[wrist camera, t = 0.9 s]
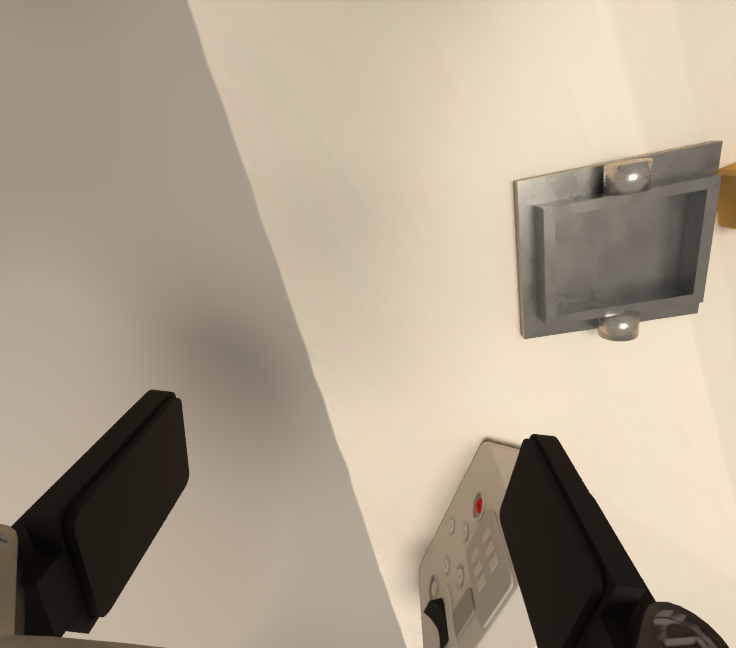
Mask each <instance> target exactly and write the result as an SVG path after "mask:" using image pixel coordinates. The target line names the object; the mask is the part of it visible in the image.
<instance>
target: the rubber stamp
mask: <svg viewBox="0 0 736 648" xmlns="http://www.w3.org/2000/svg"><path fill="white" fill-rule="evenodd" d="M718 175H722V177H721V183H720V190H719V197H718V203H717V212H718V223H719V225H721V226H724V227H728V228H733V229H736V163H735V164H733V165H730V166H728V167H725V168H723V169H720V170H719V171H718Z"/></svg>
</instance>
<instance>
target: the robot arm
mask: <svg viewBox="0 0 736 648" xmlns="http://www.w3.org/2000/svg"><path fill="white" fill-rule="evenodd" d="M188 478H189V466H188V457H187V447H186V438H185V429H184V420H183V411H182V403H181V400H180V399H179V398H176V395H175V394H174V393H173V392H168V391H159V390H149V391H148V392H147V393H146V394H145V395H144V396H143V397H142V398H141V399H140V400H138V402H136V403H135V404H134V405H133V406H132V407H131V408H130V409H129V410H128V411H127V412H126V413H125V414H124V415H123V416H122V417H121V418H120V419H119V420H118V421H117V422H116V423H115V424H114V425H113V426H112V427H111V428H110V429H109V430H108V431H107V432H106V433H105V434H104V435H103V436H102V437H101V438H100V439H99V440H98V441H97V442H96V443H95V444H94V445H93V446H92V447H91V448H90V449H89V450H88V451H87V452H86V453H85V454H84V455H83V456H82V457H81V458H80V459H79V460H78V461H77V462H76V463H75V464H74V465H73V466H72V467H71V468H70V469H69V470H68V471H67V472H66V473H65V474H64V475H63V476H62V477H61V478H60V479H59V480H58V481H57V482H56V483H55V484H54V485H53V486H52V487H51V488H50V489H48V490H47V492H45V494H43V496H41V497H40V499H38V500H37V501H36V502H35V503H34V504H33V505H32V506H31V507H30V508H29V509H28V510H27V511H26V512H25V513H24V514H23V515H22V516H21V517H20V518H19V519H18V520H17V521H16V522H15V523H14V524H13V525H12V526H11V527H10V526H8V525H3V524H0V648H163V647H154V646H146V645H136V644H128V643H117V642H106V641H95V640H84V639H72V638H62V636H63V634H64V633H65V631H69V632H78V633H87V634H89V632H90V631H91V629H92V627H93V626H94V624H95V623H96V621H97V619H98V618H99V617H104V616H105V615H107V613H108V612H109V611H110V609H111V608H112V607H113V605H114V603H115V602H116V600H117V598H118V597H119V595H120V593H121V592H122V590H123V589H124V587H125V585H126V584H127V582H128V580H129V579H130V577H131V575H132V574H133V572H134V570H135V569H136V567H137V566H138V564H139V562H140V560H141V559H142V557H143V556H144V554H145V552H146V551H147V549H148V547H149V546H150V544H151V543H152V541H153V539H154V538H155V536H156V534H157V533H158V531H159V529H160V528H161V526H162V524H163V523H164V521H165V520H166V518H167V516H168V515H169V513H170V511H171V510H172V508H173V506H174V505H175V503H176V501H177V500H178V498H179V497H180V495H181V493H182V492H183V490H184V488H185V487H186V484H187V482H188ZM499 518H500V524H501V527H502V531H503V534H504V537H505V541H506V544H507V547H508V551H509V554H510V557H511V561H512V564H513V567H514V571H515V574H516V577H517V581H518V584H519V587H520V590H521V594H522V597H523V600H524V604H525V607H526V610H527V614H528V617H529V620H530V624H531V627H532V630H533V634H534V637H535V640H536V644H537V647H538V648H729V647H728V645H727V644H726V643H725V641H724V640H723V639H722V638H721V636H720V635H719V634H718V633H717V632H716V631H715V630H714V629H713V628H712V627H710V626H709V625H708V624H707V623H706V622H705V621H703V620H702V619H701V618H699V617H698V616H697V615H695V614H694V613H692V612H690V611H688V610H687V609H685V608H683V607H681V606H678V605H675V604H672V603H669V602H656V601H655V599H654V598H653V596H652V594H651V593H650V591H649V589H648V588H647V586H646V584H645V583H644V581H643V579H642V578H641V576H640V574H639V573H638V571H637V569H636V568H635V566H634V564H633V563H632V561H631V559H630V557H629V556H628V554H627V552H626V551H625V549H624V547H623V546H622V544H621V542H620V541H619V539H618V537H617V536H616V534H615V532H614V531H613V529H612V527H611V526H610V524H609V522H608V520H607V519H606V517H605V515H604V514H603V512H602V510H601V509H600V507H599V505H598V504H597V502H596V500H595V499H594V498H593V496H592V495H591V494H590V493H589V491H588V489H587V488H586V486H585V484H584V483H583V481H582V479H581V477H580V476H579V474H578V472H577V471H576V469H575V467H574V466H573V464H572V462H571V461H570V459H569V457H568V455H567V454H566V452H565V450H564V449H563V447H562V445H561V444H560V442H559V440H558V439H557V438H556V437H554V436H547V435H539V434H532V435H531V436H530V438H529V439H524V440H523V442H522V445H521V448H520V451H519V454H518V457H517V460H516V463H515V466H514V469H513V472H512V475H511V478H510V481H509V484H508V487H507V490H506V493H505V496H504V499H503V502H502V504H501V507H500V513H499Z"/></svg>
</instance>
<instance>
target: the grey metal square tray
mask: <svg viewBox="0 0 736 648" xmlns="http://www.w3.org/2000/svg"><path fill="white" fill-rule="evenodd" d="M721 148H722V141H711V142H706V143H701V144H696V145H691V146H686V147H681V148H676V149H671V150H666V151H661V152H656V153H651V154H646V155H641V156H636V157H631V158H626V159H621V160H616V161H611V162H606V163H601V164H596V165H591V166H586V167H581V168H576V169H571V170H566V171H561V172H556V173H551V174H546V175H541V176H536V177H531V178H526V179H521V180H516V181H514V197H515V218H516V238H517V259H518V279H519V300H520V321H521V335H522V336H523V338H524V339H528V338H535V337H542V336H548V335H555V334H561V333H568V332H575V331H581V330H588V329H595V328H598V335H599V336H600V337H602V338H604V339H607V340H611V341H629V340H633V339H635V338H637V337H638V333H639V322H641V321H648V320H654V319H661V318H668V317H674V316H681V315H687V314H694V313H698V307H699V302H703V298H704V291H705V284H706V277H707V271H708V264H709V257H710V250H711V244H712V237H713V230H714V224H715V217H716V210H717V203H718V197H719V190H720V183H721V177H722V175H718V168H719V162H720V155H721Z"/></svg>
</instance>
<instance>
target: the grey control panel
mask: <svg viewBox="0 0 736 648" xmlns="http://www.w3.org/2000/svg"><path fill="white" fill-rule="evenodd" d="M519 451H520V449H516V448H512V447H508V446H504V445H500V444H496V443H492V442H483V443H482V445H481V446H480V447H479V449H478V451H477V453H476V455H475V457H474V459H473V461H472V463H471V465H470V467H469V469H468V471H467V473H466V475H465V477H464V479H463V481H462V483H461V485H460V487H459V489H458V491H457V493H456V495H455V497H454V499H453V501H452V503H451V505H450V507H449V509H448V511H447V513H446V514H445V516H444V518H443V520H442V522H441V524H440V526H439V528H438V530H437V532H436V534H435V536H434V538H433V540H432V542H431V544H430V546H429V548H428V550H427V552H426V554H425V556H424V558H423V561H422V564H421V567H420V574H419V591H420V605H421V620H422V634H423V648H533V647H534V646H535V644H536V640H535V637H534V634H533V630H532V627H531V624H530V620H529V617H528V614H527V610H526V607H525V604H524V600H523V597H522V594H521V590H520V587H519V584H518V581H517V577H516V574H515V571H514V567H513V564H512V561H511V557H510V554H509V551H508V547H507V544H506V541H505V537H504V534H503V531H502V527H501V524H500V518H499V513H500V507H501V504H502V502H503V499H504V496H505V493H506V490H507V487H508V484H509V481H510V478H511V475H512V472H513V469H514V466H515V463H516V460H517V457H518V454H519Z"/></svg>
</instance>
